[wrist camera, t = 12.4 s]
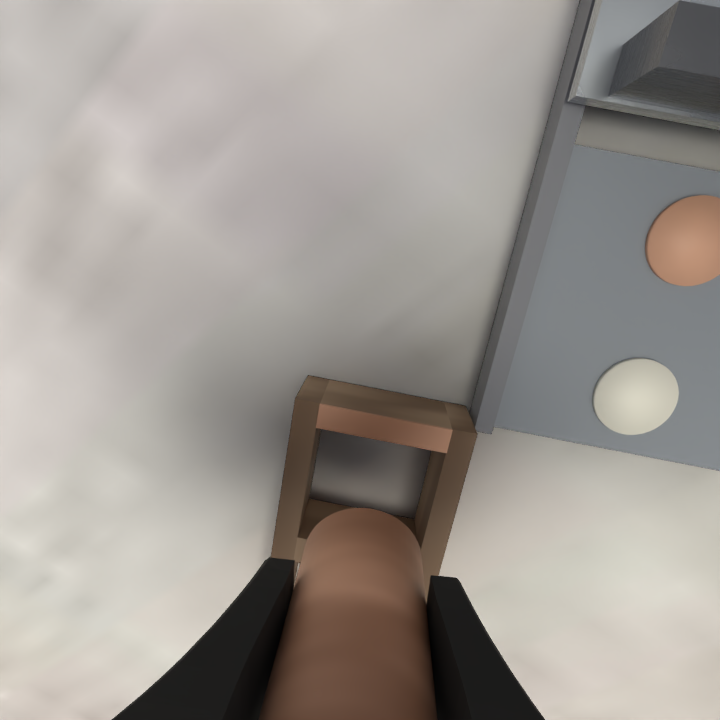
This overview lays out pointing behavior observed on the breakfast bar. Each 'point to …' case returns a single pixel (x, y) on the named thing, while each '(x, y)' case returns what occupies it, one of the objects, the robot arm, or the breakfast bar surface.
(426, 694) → the peg
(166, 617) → the breakfast bar surface
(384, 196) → the breakfast bar surface
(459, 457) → the socket board
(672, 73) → the cover
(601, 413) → the pattern board
